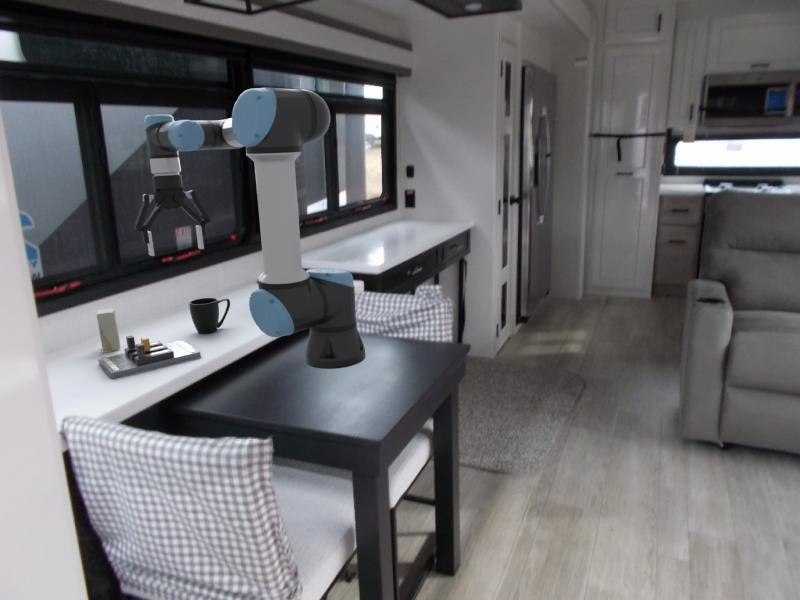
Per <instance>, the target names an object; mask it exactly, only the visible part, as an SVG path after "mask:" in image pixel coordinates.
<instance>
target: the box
mask: <svg viewBox="0 0 800 600" xmlns="http://www.w3.org/2000/svg"><path fill="white" fill-rule="evenodd" d="M115 310H116V309H115V308H106V309H98V310H97V312H96V318H97V324H98V330H99V335H100V336H99V337H100V342H101V347H102V352H103V353H106V352H115V351H119V350H120V349H121V342H120V336H119V330H118V329H119V328H118V323H117V317H116V313H115V312H116V311H115Z"/></svg>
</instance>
